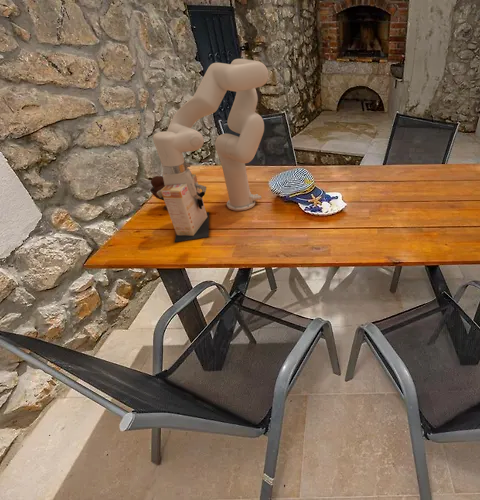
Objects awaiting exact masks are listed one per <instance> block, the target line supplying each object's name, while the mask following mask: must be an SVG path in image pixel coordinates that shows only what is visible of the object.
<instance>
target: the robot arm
mask: <svg viewBox="0 0 480 500" xmlns="http://www.w3.org/2000/svg"><path fill="white" fill-rule="evenodd" d="M206 69H207V70H206V71H205V73H204V75H203V76H202V79H201V81H200V83H199V85H198V87H197V89H196V90H195V92H194V94H193V95H192V97H191V98H190V99H188V100H187V101H186V102H185V103H184V104H183V105H181V106H180V107H179V108H178V110H176V112H175V113H174V115H173V117H172V118H171V120H170V122H169V125H168V127H167V129H166V130H165V131H164V130H163V131H159V132H156V133H154V134H153V136H152V140H153V143H154V144H153V145H154V146H155V150H156V153H157V155H158V158H159V161H160V164H161V167H162V177H163V180H164V184H165V186H166V185H178V184H187V186H188V189H189V192H190V194H191V196H194V197H196V198H197V201H198V204H199V208H200V209H202V206H203V202H204V200H203V201H202V199H203V197H204V196H206V195H205V194H206V192H207V186H206V185H202V184H199V183H198V184H196V183H195V181H194V178H193V176H192V174H193V173H192V172H191V169H190V168H191V163H190V162H186V161H185V157H184V155H183V153H187V152H194V151H195V152H196V151H198V150H201V148H203V146H204V143H205V140H204V139H205V138H204V137H203V135H202V133H201V132H199V131H198V130H196V129H194V128H192V127H193V126H194V125H195V123H196V122H197V121H199V120H200V119H202V118H204V117H207V116H210V115H212V114H214V113H216V112H217V110H218V109H219V107H220V105H221V103H222V101H223V99H224V97H225V95H226V93H227V92H228V91H230V92H235V97H234V100H233V103H232V106H231V109H230V111H229V114H228V117H227V121H226V123H227V127H228V128H229V130H231V131H232V132H234V133H236V134H239V135H236V134H231V133H222V134H220V135H218V136H217V137H216V139H215V142H214V147H215V151H216V154H217V156H218V159H219V161H220V165H221V168H222V169H221V170H222V172H223V178H224V181H225V182H224V183H225V187H226V190H227V196H228V200H227V201H226V208H228V209H229V210H231V211H235V212H243V211H247V210H249V209H252V208H253V207H254V206H256V201H262V200H263V199H262V198H263V197H262V195H259V194H258V193H255V194H253V193H252V192H251V190H250V189H251V188H250V184H249V178H248V172H247V171H248V170H247V167H246V166H247V165H246V164H249V163H250V162H252V161H253V160H254V158H255V155H256V154H257V152H258V150H259V149H258V148H259V146H260V143H261V141H262V138H263V136H264V133H265V122H264V118H263V117H262V116H261V115H260V114H259V113H257V112H256V109H257V106H258V101H259V98H258V97H259V96H258V93H257V90H256V89H257V88H260V87H263V86H265V85H266V84H267V82H268V80H269V70H268V68H267V66H266V64H264V63H263V62H261V61H259V60H253V59H245V58H235V59H233V60H232V61H231V63H226V62H225V63H224V62H213V63H211V64H210V65H209V66H208V68H206ZM197 188H198V189H200V192H201V193H198V192H197ZM157 195H158V196H159V197H160V198H161V199H162V200H161V199H160V200H161V201H164V198H163V196H162V193H161V191H160V190H159V191H158V192H157Z"/></svg>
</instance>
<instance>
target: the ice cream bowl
mask: <svg viewBox="0 0 480 500" xmlns="http://www.w3.org/2000/svg"><path fill="white" fill-rule="evenodd" d="M150 184H151V186H152V187H151V188H150V190H149V192H151V194H152V195H153V196H154V197H155V198H156V199H157V200H160V201H163V200H162V199H161V198H160V197H159V196H158V195H157V192H158V191H159V190H161V189H163V188H164V187H165V184H164V180H163V175H155V176H153V177H152V178H151V180H150ZM163 209H164V210H165V211H168V209H167V207H166V205H164V207H163Z"/></svg>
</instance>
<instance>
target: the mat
mask: <svg viewBox="0 0 480 500" xmlns="http://www.w3.org/2000/svg"><path fill="white" fill-rule="evenodd" d="M206 213H207V216H208V217H207V218H206V220H205V221H204V222H203V224H202V225H201V226H200V228H199V229H198V230H197V232H196V233H195V234H194V236H187V235H177V234H176V233H175V237H174V243H180V242H181V243H182V242H188V241H193V240H199V239H207V238H210V237H209V234H210V233H209V232H210V212H209V211H206Z"/></svg>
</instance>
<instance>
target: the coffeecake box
mask: <svg viewBox="0 0 480 500" xmlns="http://www.w3.org/2000/svg"><path fill="white" fill-rule="evenodd" d="M192 176H193V178H194V181H195V183H196V184H199V182H198V179H197V174H196V173H192ZM160 191H161V193H162V196H163V198H164V200H163V202H164V204H165V206H166V207H167V209H168V210H167V212H168V215H169V217H170V220H171V223H172V225H173V228H174V231H175V235H176V234H177V235H187V236H194V234H195V233H196V232H197V230H198V229H199V228H200V226H201V225H202V224H203V222H204V221H205V220H206V218H207V217H208V216H207V213H206V212H207V210H206V206H205V203H204V202H205V201H204V200H203V199H204V198H202V201H203V206H202V209H200V208H199V204H198V201H197V198H196V197H194V196H191V194H190V192H189V189H188V186H187V184H178V185H166V186H165V187H164V188H163V189H161V190H160ZM197 192H198V193H201V192H202V191H201V189H198V188H197Z"/></svg>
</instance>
